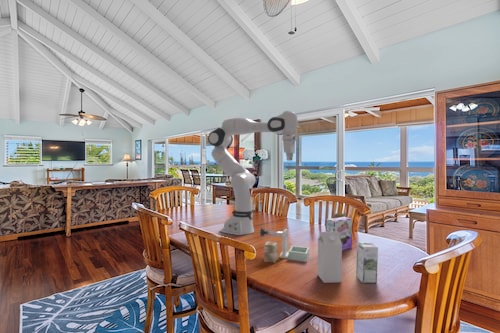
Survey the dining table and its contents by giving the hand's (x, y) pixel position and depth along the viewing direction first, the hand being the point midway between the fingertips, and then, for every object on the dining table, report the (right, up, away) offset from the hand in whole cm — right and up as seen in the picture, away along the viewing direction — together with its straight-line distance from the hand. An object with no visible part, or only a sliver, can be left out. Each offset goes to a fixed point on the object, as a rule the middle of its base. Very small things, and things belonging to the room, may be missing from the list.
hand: (289, 160), depth 156 cm
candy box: (+24, -48, -19) cm, 57 cm away
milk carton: (+8, -49, -54) cm, 73 cm away
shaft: (-12, -39, -27) cm, 49 cm away
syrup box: (+22, -49, -55) cm, 77 cm away
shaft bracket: (-2, -48, -31) cm, 57 cm away
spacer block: (-14, -48, -35) cm, 61 cm away
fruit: (+32, -48, +3) cm, 57 cm away
